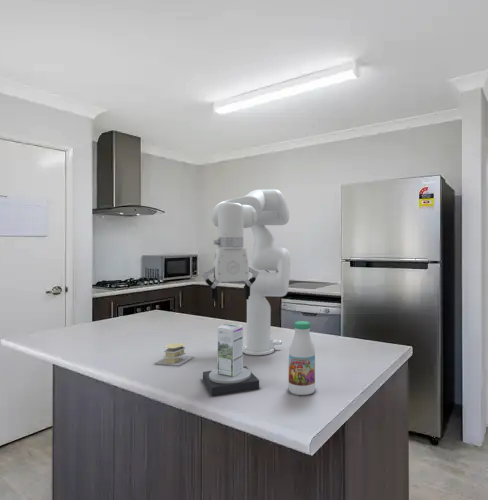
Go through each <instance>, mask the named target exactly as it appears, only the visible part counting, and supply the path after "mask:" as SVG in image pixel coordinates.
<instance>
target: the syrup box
mask: <svg viewBox="0 0 488 500" xmlns="http://www.w3.org/2000/svg"><path fill="white" fill-rule="evenodd" d="M243 345H244V325H241V324H233V323H225V324H222V325H220V326H218V327H217V369H218V374H220V375H225V376H230V377H234V376H236V375H238V374H240V373H241V372H243V366H244V352H243V347H244V346H243Z"/></svg>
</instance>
